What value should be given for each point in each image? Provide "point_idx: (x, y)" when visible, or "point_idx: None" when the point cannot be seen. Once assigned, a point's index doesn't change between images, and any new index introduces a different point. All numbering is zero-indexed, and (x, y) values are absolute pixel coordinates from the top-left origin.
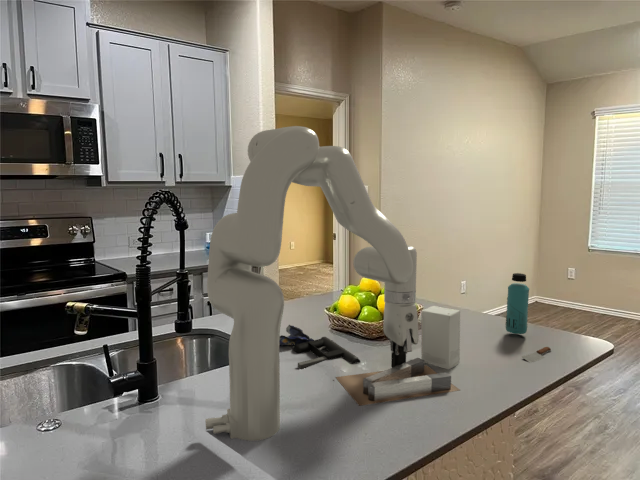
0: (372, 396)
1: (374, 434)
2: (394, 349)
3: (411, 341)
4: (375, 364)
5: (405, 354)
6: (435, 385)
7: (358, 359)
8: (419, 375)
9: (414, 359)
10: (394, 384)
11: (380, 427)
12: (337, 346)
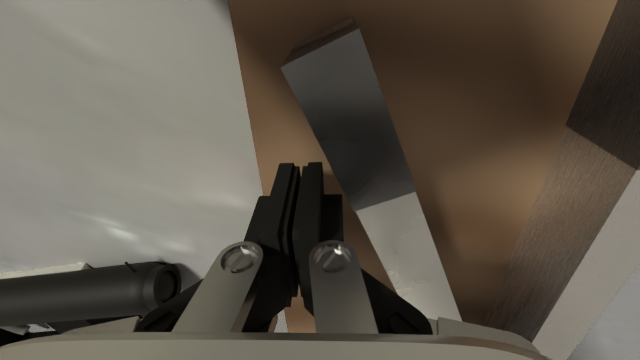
0: None
1: (624, 351)
2: (274, 315)
3: (367, 336)
4: (127, 191)
5: (318, 228)
6: None
7: (154, 293)
8: (386, 77)
9: (316, 118)
10: (576, 344)
11: (609, 333)
12: (13, 323)
